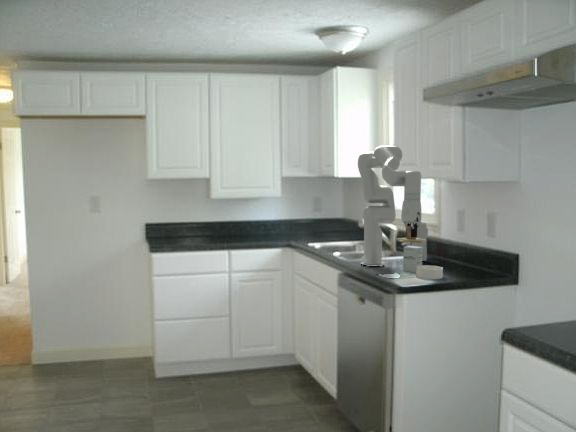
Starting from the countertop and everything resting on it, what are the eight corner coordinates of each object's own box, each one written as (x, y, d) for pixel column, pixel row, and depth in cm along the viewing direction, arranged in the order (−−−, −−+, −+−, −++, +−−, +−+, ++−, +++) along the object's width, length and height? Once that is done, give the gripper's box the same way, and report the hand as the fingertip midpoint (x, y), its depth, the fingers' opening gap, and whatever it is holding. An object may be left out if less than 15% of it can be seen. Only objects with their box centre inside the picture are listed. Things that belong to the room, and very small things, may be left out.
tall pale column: (411, 262, 332) (412, 222, 331) (408, 261, 336) (409, 222, 335) (428, 261, 335) (430, 222, 334) (425, 260, 339) (426, 221, 338)
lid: (390, 239, 286) (391, 225, 285) (414, 238, 291) (414, 224, 291) (407, 242, 273) (407, 227, 273) (432, 241, 279) (432, 227, 278)
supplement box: (402, 271, 300) (402, 246, 299) (409, 270, 306) (409, 245, 305) (415, 273, 295) (416, 248, 294) (422, 271, 301) (423, 246, 300)
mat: (372, 275, 288) (372, 274, 288) (396, 273, 294) (396, 272, 294) (389, 280, 275) (390, 279, 275) (414, 278, 281) (414, 277, 281)
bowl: (411, 276, 285) (412, 266, 285) (431, 275, 290) (431, 264, 290) (427, 281, 275) (427, 270, 275) (447, 279, 280) (447, 268, 280)
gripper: (395, 197, 287) (394, 235, 288) (416, 198, 272) (415, 238, 273) (408, 196, 290) (407, 234, 291) (429, 198, 275) (428, 238, 276)
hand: (411, 236), depth 282 cm, fingers closed on lid, 3 cm apart
